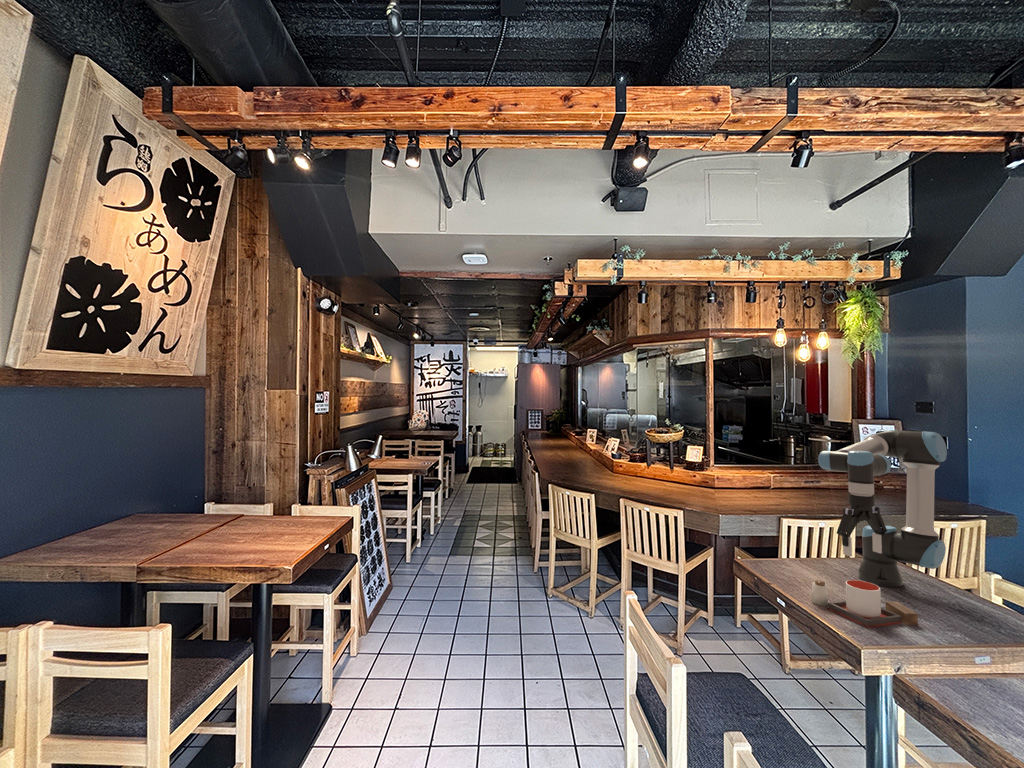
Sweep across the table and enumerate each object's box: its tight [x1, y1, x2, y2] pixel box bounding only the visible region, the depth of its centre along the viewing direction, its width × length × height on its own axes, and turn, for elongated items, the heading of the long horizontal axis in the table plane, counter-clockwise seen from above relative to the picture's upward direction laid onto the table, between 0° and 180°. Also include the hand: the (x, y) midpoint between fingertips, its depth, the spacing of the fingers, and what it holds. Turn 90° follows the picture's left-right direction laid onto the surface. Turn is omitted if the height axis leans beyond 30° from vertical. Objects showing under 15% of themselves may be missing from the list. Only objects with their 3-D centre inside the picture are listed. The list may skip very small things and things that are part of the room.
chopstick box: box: [885, 600, 919, 626], centre depth 167 cm, size 4×10×4 cm, turn 174°
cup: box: [845, 579, 882, 618], centre depth 169 cm, size 10×10×10 cm
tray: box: [827, 599, 903, 629], centre depth 169 cm, size 15×15×2 cm
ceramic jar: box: [811, 579, 829, 607], centre depth 179 cm, size 5×5×8 cm
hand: (862, 553), depth 169 cm, fingers open, 13 cm apart
